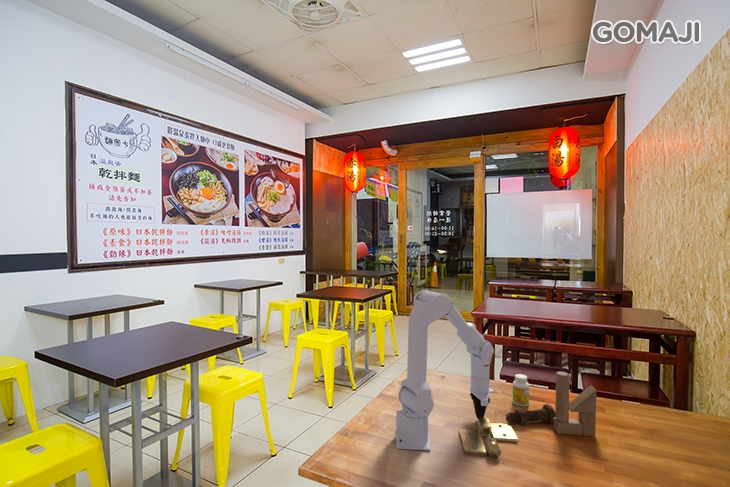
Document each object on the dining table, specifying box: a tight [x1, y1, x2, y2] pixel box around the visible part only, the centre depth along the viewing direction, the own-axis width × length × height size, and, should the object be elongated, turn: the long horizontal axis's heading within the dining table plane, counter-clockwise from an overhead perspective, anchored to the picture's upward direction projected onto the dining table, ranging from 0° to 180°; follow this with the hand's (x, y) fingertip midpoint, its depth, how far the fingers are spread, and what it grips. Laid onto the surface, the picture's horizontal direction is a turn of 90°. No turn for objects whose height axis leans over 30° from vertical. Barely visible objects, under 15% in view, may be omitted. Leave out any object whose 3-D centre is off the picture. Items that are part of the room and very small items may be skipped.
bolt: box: [505, 403, 555, 427], centre depth 116 cm, size 6×5×15 cm
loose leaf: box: [476, 417, 519, 443], centre depth 110 cm, size 10×8×3 cm
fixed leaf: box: [458, 428, 502, 459], centre depth 104 cm, size 9×12×3 cm
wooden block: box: [552, 371, 597, 438], centre depth 110 cm, size 4×11×18 cm, turn 82°
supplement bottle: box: [512, 373, 530, 407], centre depth 129 cm, size 5×5×10 cm
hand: (479, 417), depth 118 cm, fingers closed
